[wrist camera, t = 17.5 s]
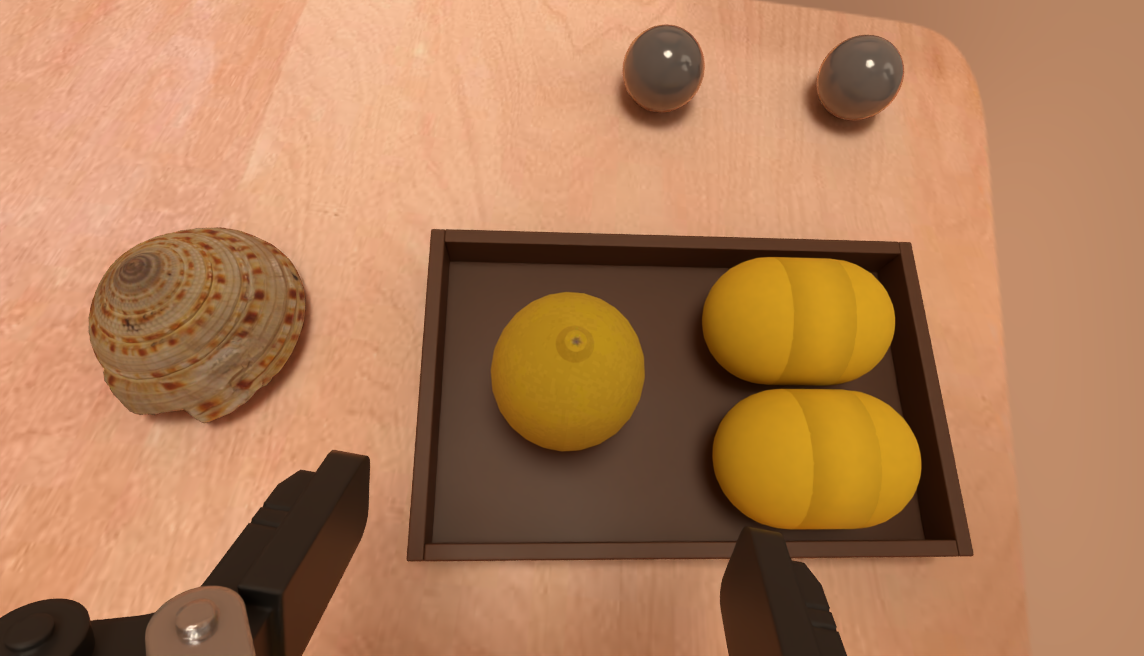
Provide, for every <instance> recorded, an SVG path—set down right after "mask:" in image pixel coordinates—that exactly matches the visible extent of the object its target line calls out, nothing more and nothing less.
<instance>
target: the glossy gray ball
mask: <svg viewBox="0 0 1144 656" xmlns="http://www.w3.org/2000/svg"><path fill="white" fill-rule="evenodd" d="M903 77H904V65H903V60H902V57H901V55H900V53H899V51H898V50H897V48H896V47H895V46H894V45H893V44H892V43H891V42H889V41H888V40H886V39H884V38H882V37H879V36H874V35H859V36H855V37H852V38H849V39H847V40H845V41H843V42H841V43H840V44H838V45H837V46H836V47H834V48H833V49H832V50H831V51H830V52H829V53H828V55H827V56H826V57H825V59H824V60H823V62H822V64H821V66H820V68H819V72H818V75H817V83H816V84H817V93H818V97H819V99H820V101H821V103H822V105H823V106H824V107H825V109H826V110H827V111H828V112H830V113H831V114H832V115H834V116H836V117H838V118H841V119H845V120H863V119H866V118H870V117H872V116H874V115H876V114H878V113H880V112H881V111H883V110H884V109H885V108H886V107H888V106H889V105H890V104H891V102H892V101H893V100H894V99H895V97H896V96H897V94H898V92H899V90H900V88H901V85H902V82H903Z"/></svg>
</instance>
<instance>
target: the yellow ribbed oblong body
mask: <svg viewBox="0 0 1144 656" xmlns="http://www.w3.org/2000/svg"><path fill="white" fill-rule="evenodd" d="M702 327H703V335H704V339H705V341H706V344H707V346H708V348H709V351H710V352H711V354H712V355H713V356H714V358H715V359H716V361H717V362H718V363H719V364H720V365H721V366H722V367H723V368H724V369H726V370H727V371H728V372H729V373H731V374H733V375H734V376H736V377H738V378H740V379H742V380H745V381H748V382H751V383H757V384H766V385H837V384H842V383H845V382H849V381H852V380H855V379H857V378H859V377H861V376H863V375H864V374H866V373H867V372H869V371H870V370H872V369H873V368H874V367H875V366H876V365H877V364H878V363H879V362H880V361H881V360H882V358H883V357H884V355H885V354H886V352H887V350H888V348H889V346H890V344H891V342H892V339H893V335H894V330H895V314H894V308H893V304H892V302H891V299H890V297H889V295H888V293H887V291H886V290H885V288H884V286H883V285H882V284H881V283H880V282H879V281H878V280H877V279H876V278H875V277H874V276H873V275H872V274H871V273H869V272H868V271H866V270H865V269H863V268H862V267H860V266H858V265H856V264H853V263H850V262H847V261H843V260H836V259H827V258H788V257H763V258H755V259H752V260H748V261H745V262H742V263H740V264H738V265H736V266H734V267H733V268H731V269H729V270H728V271H727V272H726V273H725V274H723V275H722V276H721V277H720V278H719V279H718V280H717V282H716V283H715V284H714V285H713V287H712V288H711V290H710V292H709V294H708V296H707V298H706V301H705V304H704V308H703V315H702Z"/></svg>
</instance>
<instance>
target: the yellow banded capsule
mask: <svg viewBox="0 0 1144 656" xmlns="http://www.w3.org/2000/svg"><path fill="white" fill-rule="evenodd" d="M713 466H714V472H715V475H716V478H717V480H718V482H719V485H720V487H721V489H722V491H723V493H724V494H725V495H726V497H727V498H728V499H729V500H730V502H731V503H732V504H733V505H734V506H735V507H736V508H737V509H738V510H740V511H741V512H742V513H743V514H744V515H746V516H747V517H749V518H751V519H753V520H754V521H756V522H758V523H761V524H764V525H767V526H770V527H774V528H781V529H859V528H867V527H872V526H875V525H878V524H881V523H883V522H886V521H887V520H889V519H890V518H892V517H893V516H895V515H896V514H898V513H899V512H901V511H902V510H903V508H904V507H905V506H906V505H907V504H908V502H909V501H910V500H911V499H912V497H913V495H914V493H915V491H916V489H917V486H918V483H919V480H920V476H921V454H920V450H919V445H918V443H917V440H916V438H915V436H914V434H913V432H912V430H911V429H910V427H909V425H908V424H907V422H906V421H905V420H904V419H903V417H901V416H900V415H899V414H898V413H897V412H896V411H895V410H894V409H893V408H892V407H891V406H889V405H888V404H886V403H884V402H883V401H881V400H879V399H877V398H875V397H873V396H871V395H868V394H865V393H862V392H857V391H849V390H843V389H773V390H766V391H762V392H759V393H756V394H753V395H750V396H748V397H747V398H745V399H743V400H741V401H740V402H738V403H737V404H736V405H735V406H734V407H733V408H732V409H731V410H729V411H728V413H727V414H726V415H725V417H724V418H723V420H722V421H721V423H720V425H719V427H718V430H717V432H716V435H715V437H714V442H713Z"/></svg>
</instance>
